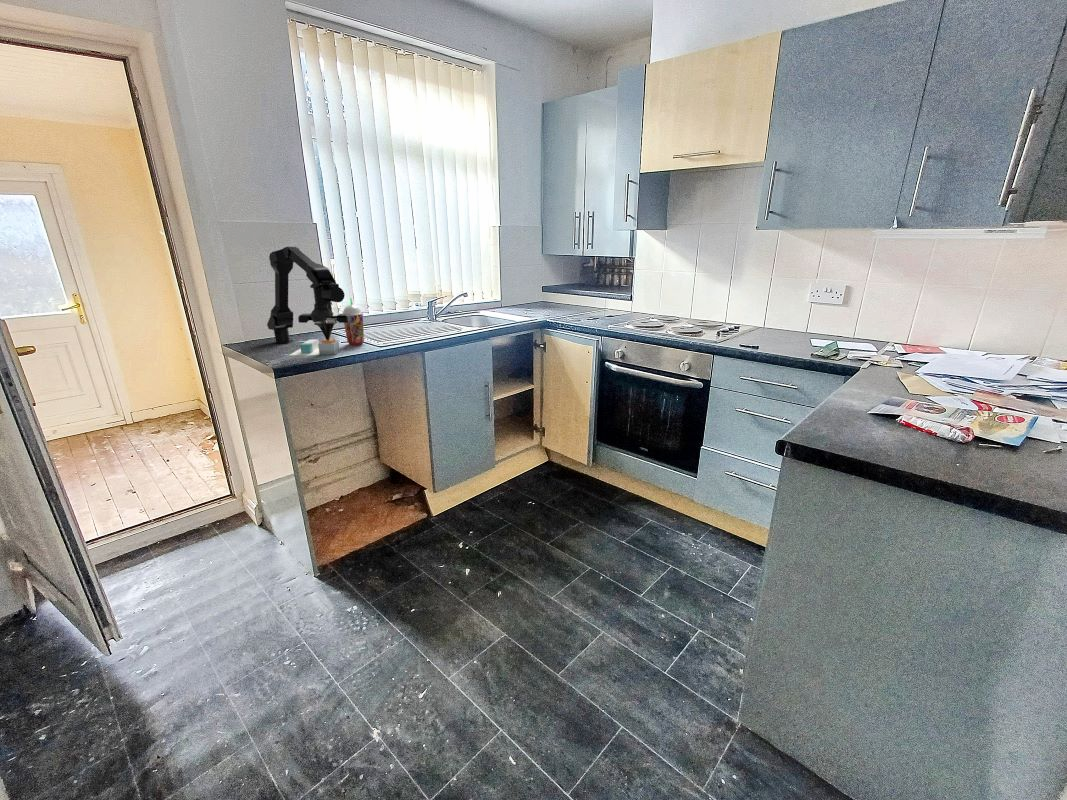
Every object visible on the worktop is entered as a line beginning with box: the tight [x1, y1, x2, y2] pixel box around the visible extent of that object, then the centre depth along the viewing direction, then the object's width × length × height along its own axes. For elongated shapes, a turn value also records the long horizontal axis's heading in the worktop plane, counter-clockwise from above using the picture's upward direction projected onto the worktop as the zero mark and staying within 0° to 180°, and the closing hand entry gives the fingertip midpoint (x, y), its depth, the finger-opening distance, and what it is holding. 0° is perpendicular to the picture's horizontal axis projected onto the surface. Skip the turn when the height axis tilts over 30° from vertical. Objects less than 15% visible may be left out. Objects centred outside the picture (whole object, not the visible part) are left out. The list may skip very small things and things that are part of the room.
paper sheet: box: [289, 348, 320, 356], centre depth 191 cm, size 16×11×1 cm
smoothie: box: [341, 297, 365, 347], centre depth 201 cm, size 8×8×20 cm
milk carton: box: [299, 339, 320, 353], centre depth 191 cm, size 10×4×4 cm, turn 5°
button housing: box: [318, 339, 341, 356], centre depth 188 cm, size 6×6×4 cm
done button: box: [320, 338, 336, 343], centre depth 187 cm, size 4×4×3 cm
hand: (327, 339), depth 187 cm, fingers closed, pressing on done button
